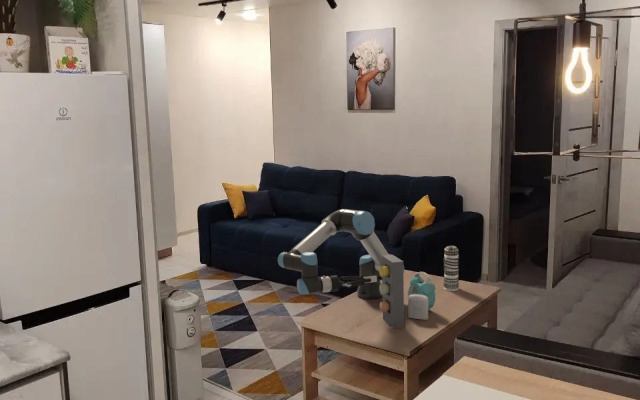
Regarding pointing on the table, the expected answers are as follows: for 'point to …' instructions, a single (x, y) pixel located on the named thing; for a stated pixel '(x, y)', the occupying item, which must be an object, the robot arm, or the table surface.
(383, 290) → the sage button
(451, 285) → the leaning tower model
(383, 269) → the mustard button
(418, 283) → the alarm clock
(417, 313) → the photo printer
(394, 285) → the button panel
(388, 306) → the terracotta button
